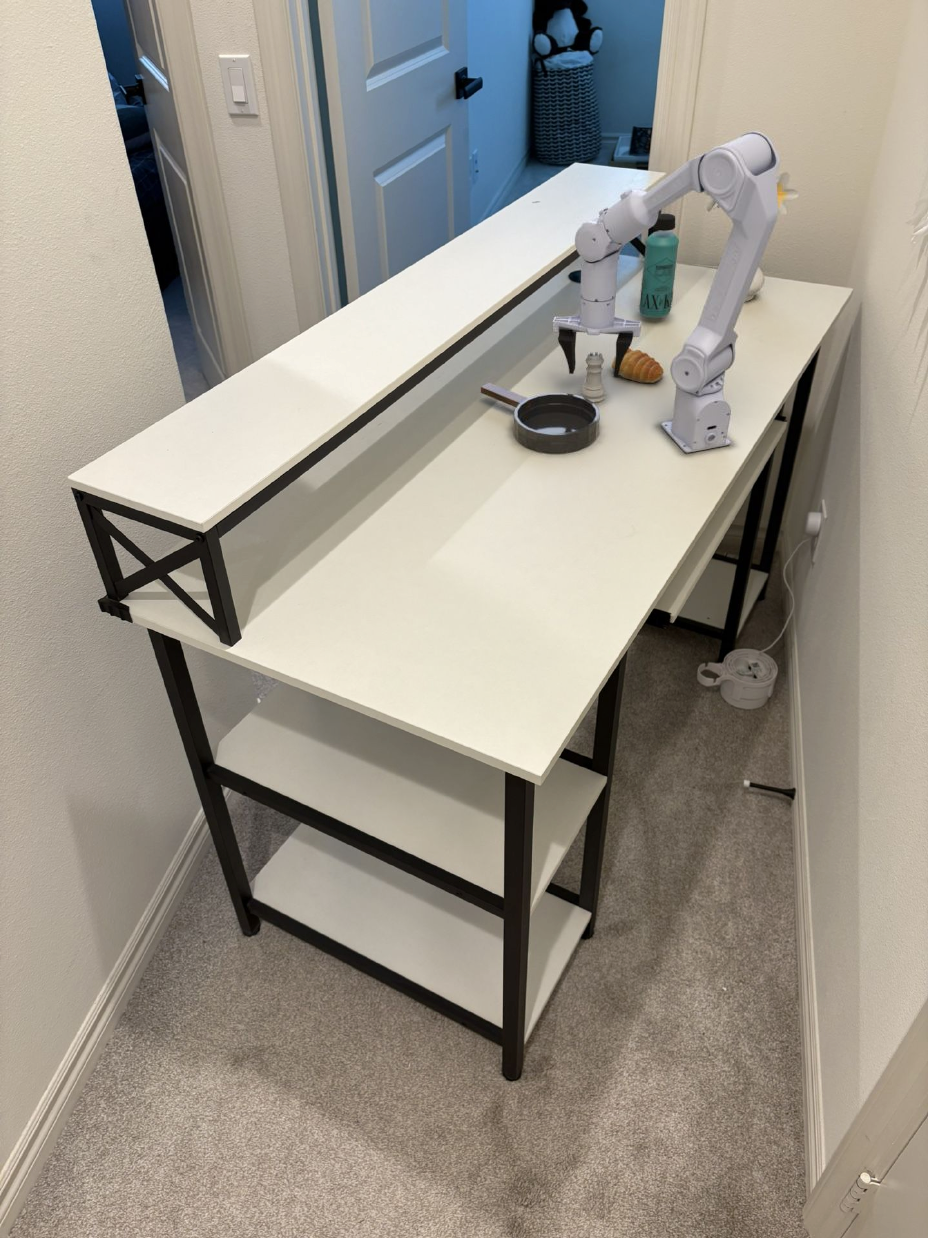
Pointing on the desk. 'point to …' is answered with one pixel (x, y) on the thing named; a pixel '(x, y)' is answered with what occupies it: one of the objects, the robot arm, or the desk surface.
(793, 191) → the flower vase
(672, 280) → the beverage bottle
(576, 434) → the pan
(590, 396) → the rook chess piece
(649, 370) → the pastry
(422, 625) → the desk surface
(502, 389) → the pan handle
